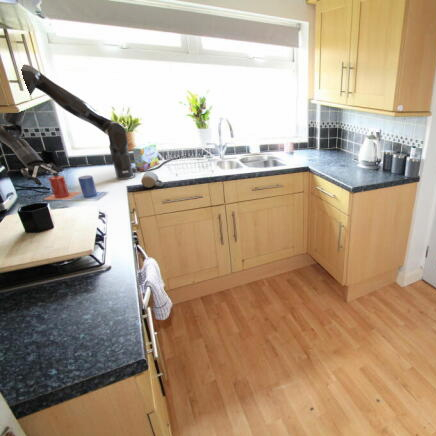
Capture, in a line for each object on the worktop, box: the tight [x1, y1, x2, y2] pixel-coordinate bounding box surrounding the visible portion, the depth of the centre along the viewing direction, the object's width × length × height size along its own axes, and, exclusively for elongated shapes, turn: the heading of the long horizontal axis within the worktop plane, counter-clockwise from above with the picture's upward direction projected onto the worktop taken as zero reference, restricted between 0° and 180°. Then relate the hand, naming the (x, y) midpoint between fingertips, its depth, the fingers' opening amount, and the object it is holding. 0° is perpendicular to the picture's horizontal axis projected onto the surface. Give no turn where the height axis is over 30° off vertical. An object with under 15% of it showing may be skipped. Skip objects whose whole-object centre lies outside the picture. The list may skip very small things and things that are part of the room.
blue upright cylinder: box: [78, 175, 98, 198], centre depth 163 cm, size 6×6×10 cm
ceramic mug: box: [140, 171, 164, 189], centre depth 183 cm, size 11×8×8 cm
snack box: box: [131, 142, 160, 171], centre depth 218 cm, size 21×6×15 cm, turn 1°
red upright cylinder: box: [48, 175, 70, 198], centre depth 161 cm, size 6×6×10 cm
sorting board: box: [43, 191, 107, 201], centre depth 165 cm, size 11×24×1 cm, turn 99°
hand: (50, 182), depth 163 cm, fingers open, 8 cm apart
